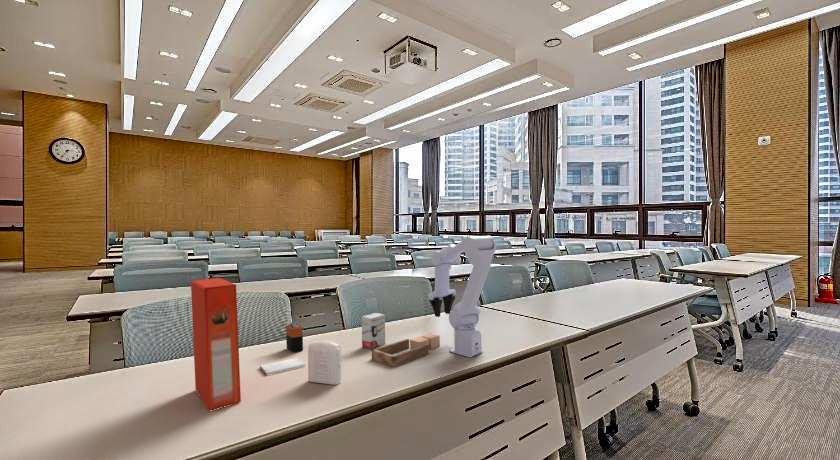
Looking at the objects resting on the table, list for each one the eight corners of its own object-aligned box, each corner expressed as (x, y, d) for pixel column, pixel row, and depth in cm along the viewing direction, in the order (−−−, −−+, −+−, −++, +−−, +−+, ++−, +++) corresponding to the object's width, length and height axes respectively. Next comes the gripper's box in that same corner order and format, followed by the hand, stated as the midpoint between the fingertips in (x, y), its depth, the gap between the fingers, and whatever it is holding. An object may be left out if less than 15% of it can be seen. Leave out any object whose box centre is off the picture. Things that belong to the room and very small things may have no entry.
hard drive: (266, 372, 125) (304, 363, 132) (259, 365, 132) (296, 356, 139) (266, 377, 125) (305, 368, 133) (259, 370, 132) (296, 361, 139)
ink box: (370, 349, 149) (369, 318, 149) (361, 347, 152) (360, 316, 152) (386, 343, 156) (385, 313, 155) (376, 341, 159) (376, 312, 158)
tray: (429, 353, 143) (428, 344, 143) (393, 366, 131) (393, 357, 131) (407, 347, 151) (406, 338, 151) (371, 358, 139) (371, 349, 139)
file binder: (207, 412, 102) (203, 287, 101) (194, 390, 115) (190, 280, 114) (240, 402, 107) (237, 284, 106) (224, 383, 120) (221, 277, 119)
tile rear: (439, 345, 152) (439, 335, 152) (431, 349, 148) (430, 338, 148) (430, 343, 156) (429, 333, 155) (421, 346, 152) (421, 336, 152)
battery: (297, 346, 155) (297, 320, 154) (303, 350, 149) (302, 324, 149) (286, 348, 152) (285, 322, 152) (291, 353, 146) (291, 326, 146)
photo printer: (343, 380, 120) (342, 340, 120) (336, 386, 116) (335, 344, 116) (314, 377, 123) (313, 337, 123) (306, 382, 119) (305, 341, 119)
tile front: (429, 349, 148) (429, 339, 148) (419, 353, 144) (419, 342, 144) (419, 347, 151) (419, 336, 151) (410, 350, 148) (410, 339, 148)
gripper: (446, 277, 165) (446, 310, 165) (422, 282, 155) (422, 316, 155) (459, 279, 160) (459, 312, 161) (435, 284, 150) (436, 319, 150)
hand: (442, 315), depth 157 cm, fingers open, 5 cm apart
